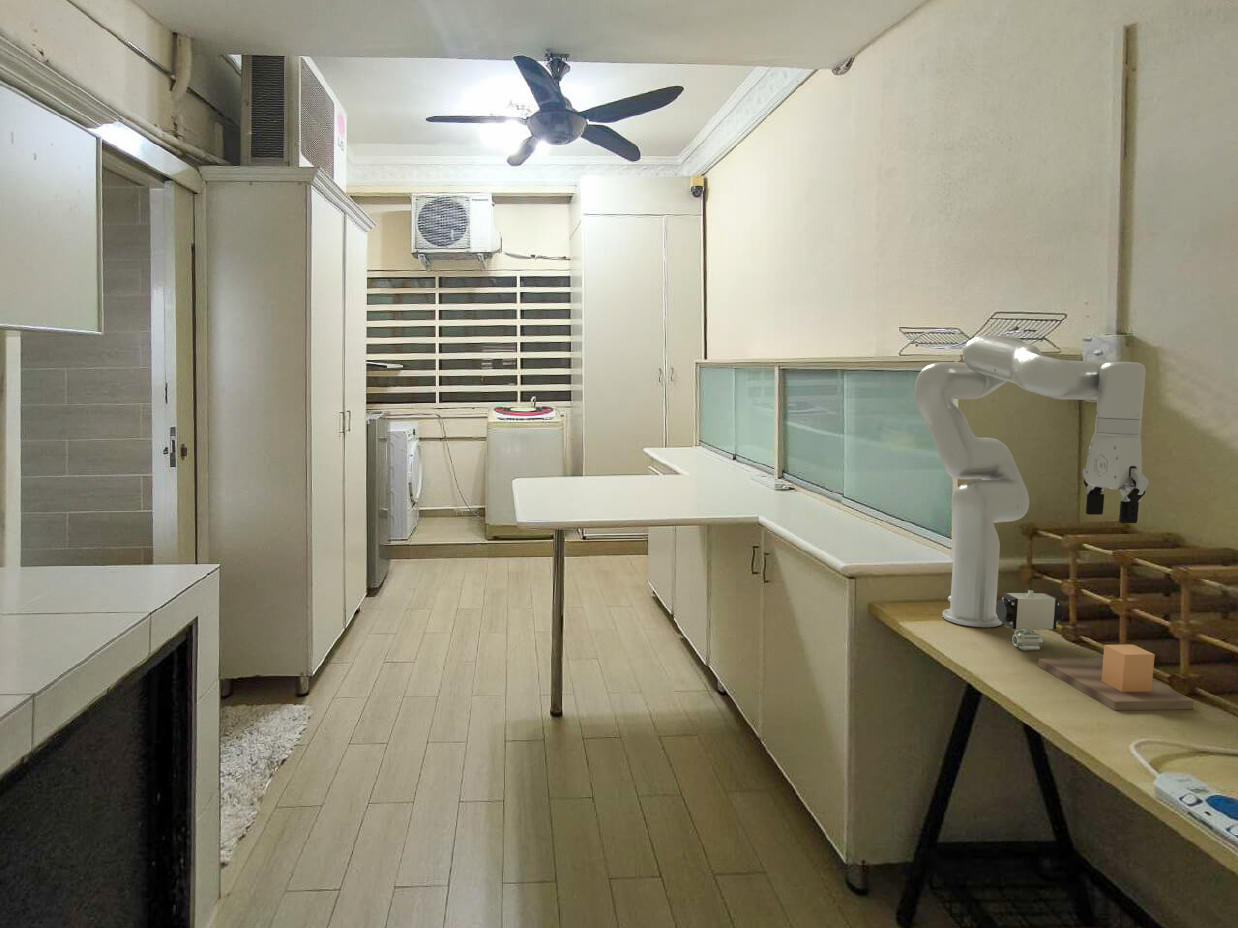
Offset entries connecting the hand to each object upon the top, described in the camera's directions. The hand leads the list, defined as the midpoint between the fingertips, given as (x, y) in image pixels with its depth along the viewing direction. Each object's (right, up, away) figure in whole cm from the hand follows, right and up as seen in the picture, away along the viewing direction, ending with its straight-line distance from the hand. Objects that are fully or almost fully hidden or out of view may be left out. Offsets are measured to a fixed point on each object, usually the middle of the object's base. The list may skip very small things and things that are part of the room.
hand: (1110, 518), depth 166 cm
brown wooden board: (-5, -29, -10) cm, 31 cm away
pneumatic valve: (-11, -27, +12) cm, 32 cm away
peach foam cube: (-5, -28, -14) cm, 32 cm away
